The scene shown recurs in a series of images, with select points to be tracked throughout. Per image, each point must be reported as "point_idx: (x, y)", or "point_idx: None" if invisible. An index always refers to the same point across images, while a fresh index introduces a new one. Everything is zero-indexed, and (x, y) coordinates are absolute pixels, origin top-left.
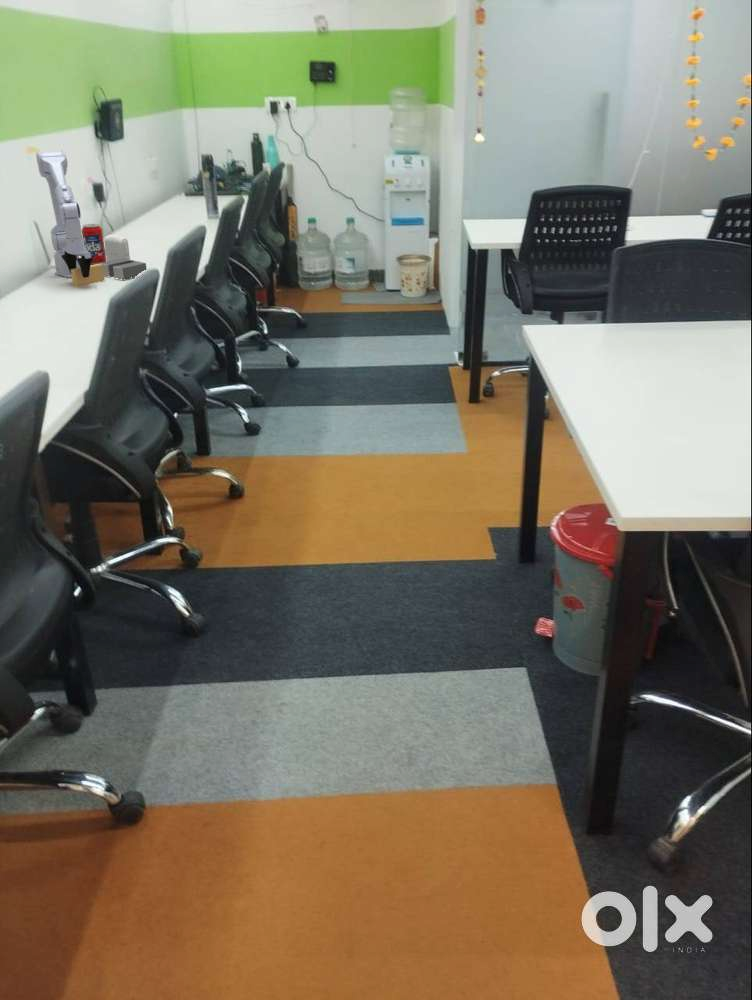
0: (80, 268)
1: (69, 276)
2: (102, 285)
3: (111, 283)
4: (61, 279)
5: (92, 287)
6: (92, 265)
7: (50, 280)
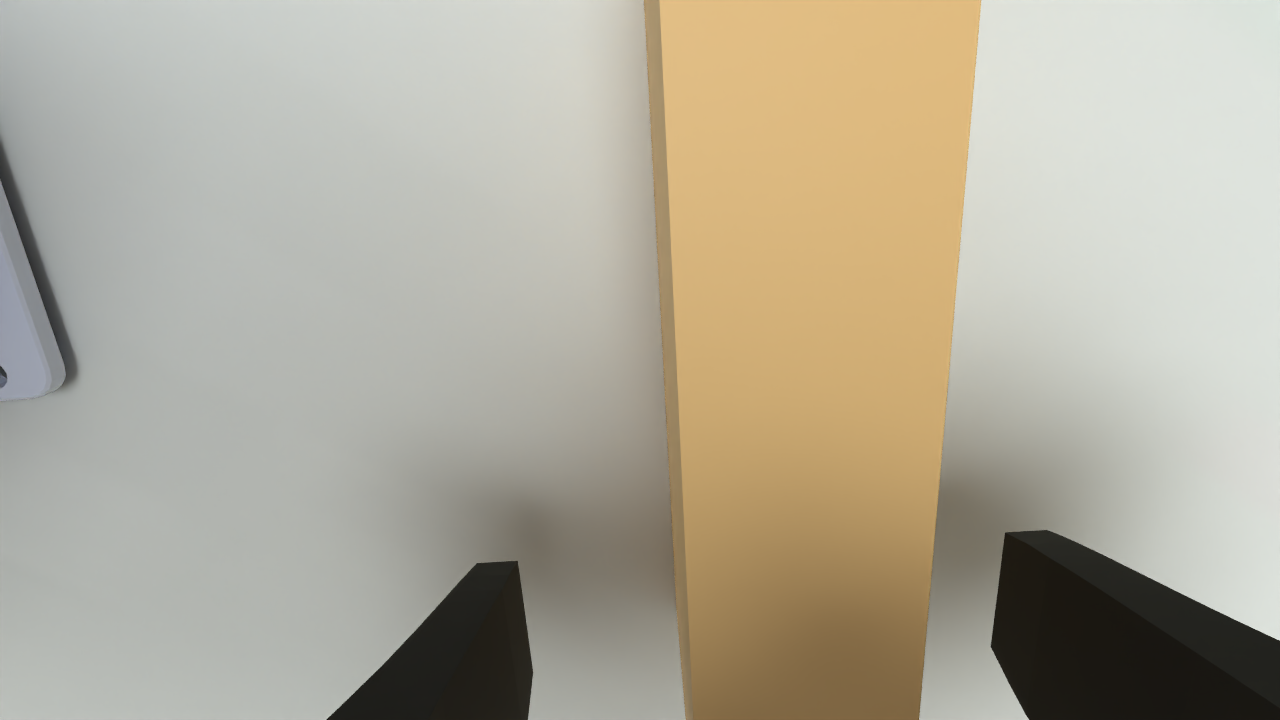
0: (825, 710)
1: (50, 378)
2: (1122, 257)
3: (1167, 7)
4: (107, 524)
5: (1070, 468)
6: (755, 178)
7: (74, 671)
